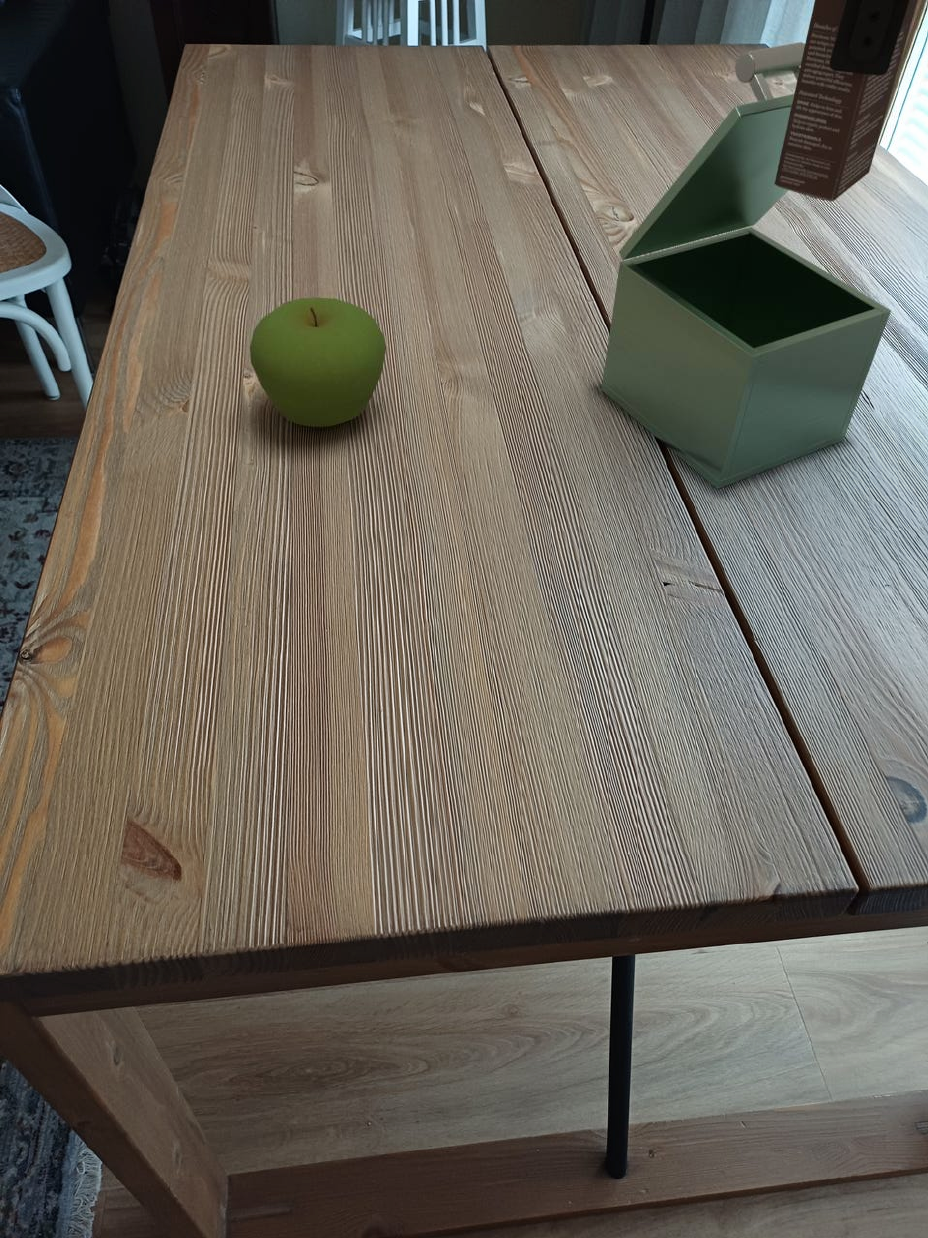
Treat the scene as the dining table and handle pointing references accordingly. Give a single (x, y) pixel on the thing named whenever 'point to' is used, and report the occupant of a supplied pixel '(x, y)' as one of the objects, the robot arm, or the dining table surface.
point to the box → (834, 112)
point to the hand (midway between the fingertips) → (856, 47)
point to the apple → (318, 360)
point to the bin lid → (728, 164)
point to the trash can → (739, 352)
